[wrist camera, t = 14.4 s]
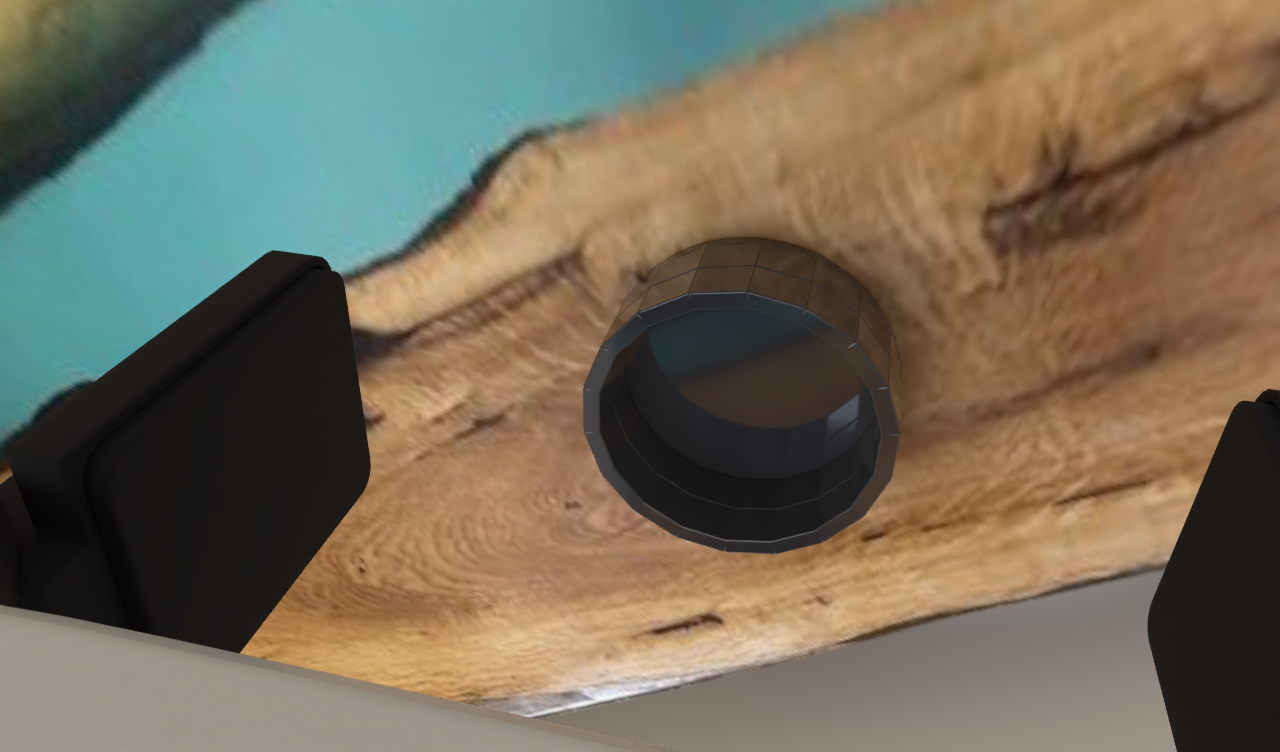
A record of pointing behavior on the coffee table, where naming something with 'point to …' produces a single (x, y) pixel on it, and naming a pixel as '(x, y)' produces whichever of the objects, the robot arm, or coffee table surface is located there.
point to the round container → (747, 397)
